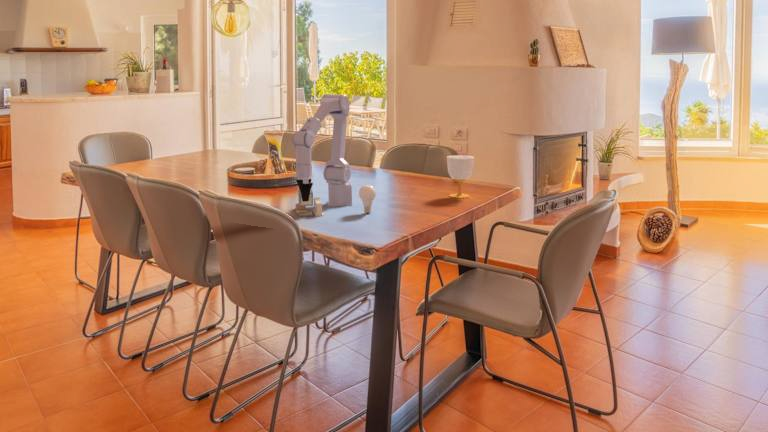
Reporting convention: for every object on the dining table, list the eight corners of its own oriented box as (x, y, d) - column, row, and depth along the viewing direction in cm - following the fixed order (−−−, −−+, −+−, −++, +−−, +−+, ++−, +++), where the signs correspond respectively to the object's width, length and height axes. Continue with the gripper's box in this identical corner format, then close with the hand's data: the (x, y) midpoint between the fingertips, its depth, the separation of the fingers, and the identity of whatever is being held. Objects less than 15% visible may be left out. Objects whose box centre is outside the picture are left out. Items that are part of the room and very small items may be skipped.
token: (306, 208, 251) (306, 203, 250) (305, 210, 247) (305, 205, 246) (295, 208, 250) (295, 203, 250) (295, 210, 246) (295, 205, 246)
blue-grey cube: (311, 203, 242) (311, 189, 241) (313, 205, 237) (312, 192, 236) (298, 203, 241) (298, 190, 240) (299, 206, 236) (299, 192, 235)
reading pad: (311, 213, 243) (311, 211, 243) (312, 216, 237) (312, 215, 237) (298, 213, 242) (298, 212, 242) (299, 217, 236) (299, 215, 236)
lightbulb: (362, 215, 238) (362, 187, 236) (356, 212, 244) (356, 184, 242) (378, 214, 241) (378, 185, 238) (372, 211, 246) (371, 183, 244)
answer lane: (305, 207, 252) (305, 207, 252) (307, 213, 243) (307, 212, 243) (294, 208, 251) (294, 207, 251) (296, 213, 242) (296, 213, 242)
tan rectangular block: (320, 210, 248) (320, 197, 247) (323, 216, 237) (323, 203, 236) (312, 210, 248) (312, 197, 247) (315, 216, 237) (315, 203, 236)
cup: (443, 193, 280) (444, 155, 276) (469, 193, 282) (470, 155, 278) (448, 199, 269) (449, 159, 265) (476, 198, 270) (477, 158, 266)
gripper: (291, 161, 241) (292, 196, 244) (294, 166, 228) (295, 203, 231) (310, 160, 243) (311, 195, 246) (313, 166, 229) (314, 203, 232)
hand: (304, 199), depth 238 cm, fingers closed on blue-grey cube, 5 cm apart
